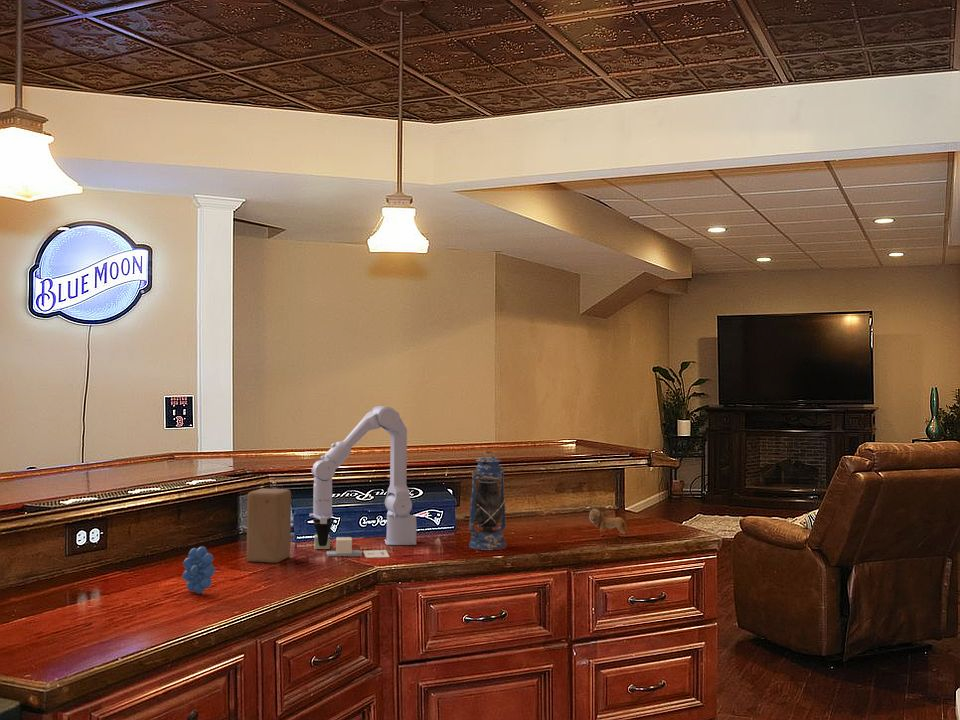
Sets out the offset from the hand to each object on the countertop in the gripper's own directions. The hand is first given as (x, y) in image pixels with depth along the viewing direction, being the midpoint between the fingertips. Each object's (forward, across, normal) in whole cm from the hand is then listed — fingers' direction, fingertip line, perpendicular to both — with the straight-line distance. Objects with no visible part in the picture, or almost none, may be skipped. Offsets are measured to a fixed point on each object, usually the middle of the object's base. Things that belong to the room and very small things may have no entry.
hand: (322, 543), depth 307 cm
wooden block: (+2, +15, -16) cm, 22 cm away
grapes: (+2, +54, -32) cm, 63 cm away
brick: (+1, +11, +6) cm, 12 cm away
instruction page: (+1, +12, +16) cm, 19 cm away
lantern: (+2, +5, +51) cm, 51 cm away
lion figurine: (+2, -8, +95) cm, 96 cm away
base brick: (+2, +11, +6) cm, 13 cm away
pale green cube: (+2, 0, 0) cm, 2 cm away
